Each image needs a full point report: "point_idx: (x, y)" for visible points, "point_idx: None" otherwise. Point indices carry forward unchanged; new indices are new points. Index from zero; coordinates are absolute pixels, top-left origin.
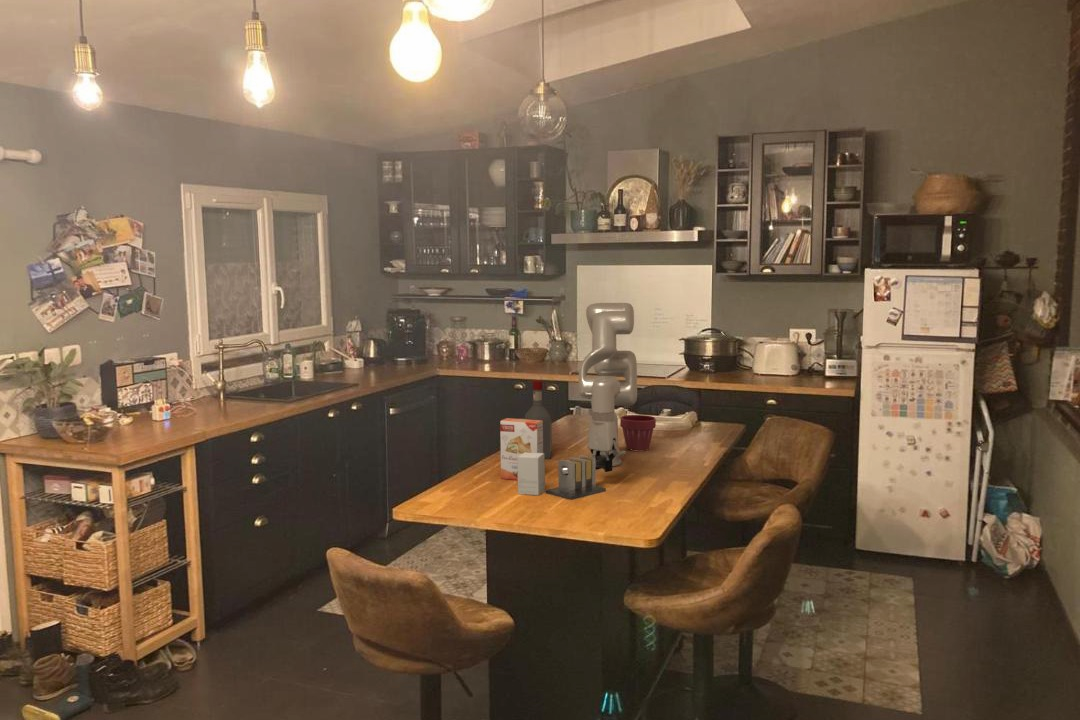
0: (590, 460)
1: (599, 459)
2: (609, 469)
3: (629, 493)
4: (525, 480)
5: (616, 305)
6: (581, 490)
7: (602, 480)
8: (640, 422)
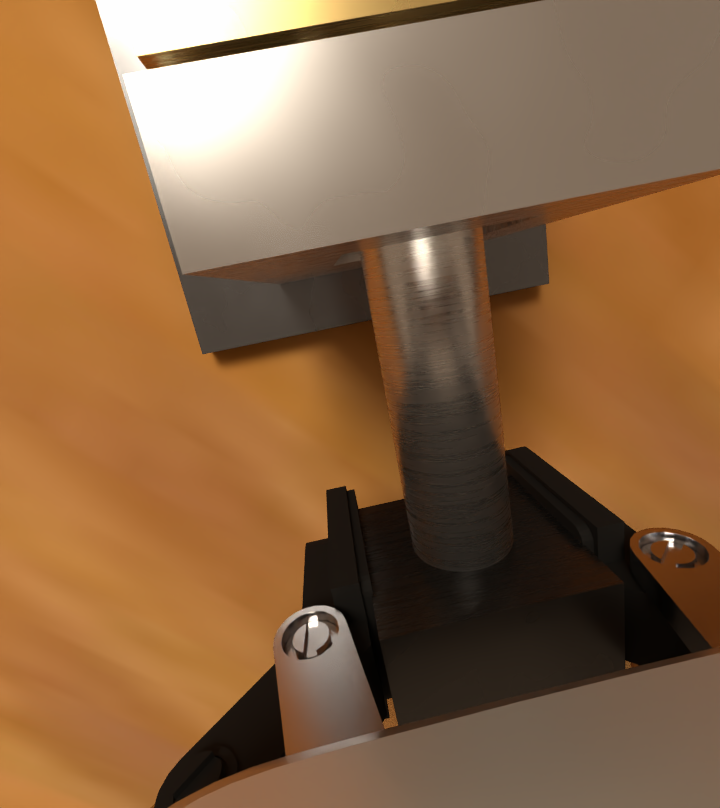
0: (127, 9)
1: (510, 559)
2: (307, 543)
3: (36, 476)
4: None
5: None
6: None
7: None
8: None
